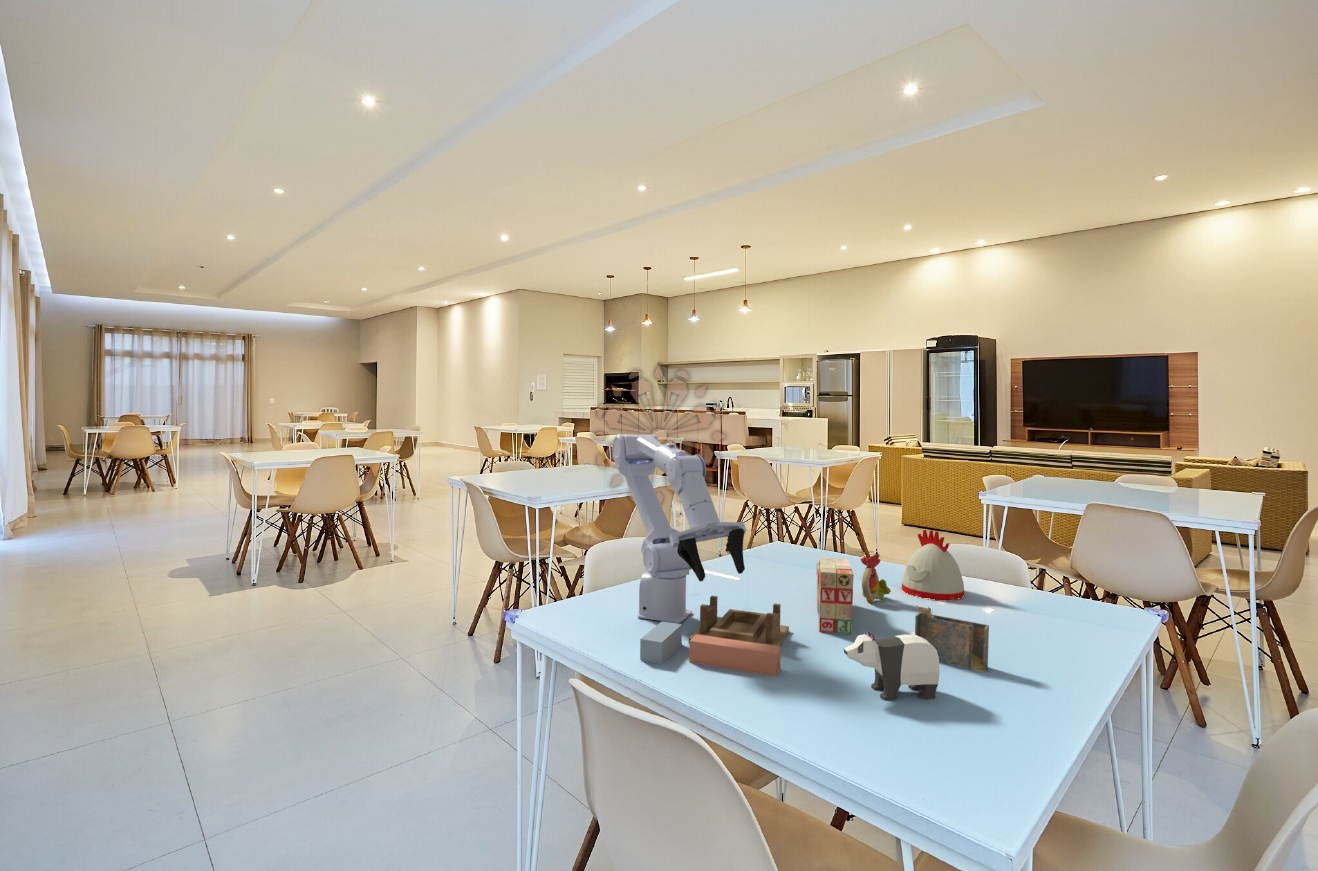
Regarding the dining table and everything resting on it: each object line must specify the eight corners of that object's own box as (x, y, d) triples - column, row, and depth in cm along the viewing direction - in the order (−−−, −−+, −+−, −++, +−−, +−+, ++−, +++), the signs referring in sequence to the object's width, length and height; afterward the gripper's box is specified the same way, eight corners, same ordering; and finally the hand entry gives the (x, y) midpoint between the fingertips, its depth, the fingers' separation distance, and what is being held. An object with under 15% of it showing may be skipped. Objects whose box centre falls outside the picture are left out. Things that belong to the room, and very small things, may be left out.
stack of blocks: (815, 601, 146) (817, 548, 145) (844, 603, 144) (845, 549, 144) (819, 632, 125) (820, 570, 124) (852, 635, 123) (853, 572, 123)
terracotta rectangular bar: (689, 663, 109) (689, 640, 109) (695, 656, 112) (695, 634, 112) (776, 677, 103) (776, 653, 103) (780, 669, 107) (780, 646, 107)
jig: (688, 643, 118) (689, 610, 118) (710, 620, 131) (711, 590, 131) (774, 656, 112) (774, 621, 112) (788, 631, 125) (789, 600, 125)
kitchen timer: (926, 582, 163) (927, 524, 163) (976, 595, 151) (978, 533, 151) (889, 589, 156) (891, 528, 156) (939, 604, 144) (940, 538, 144)
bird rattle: (884, 614, 143) (893, 589, 150) (879, 573, 139) (889, 550, 146) (856, 609, 146) (866, 585, 153) (851, 569, 142) (861, 547, 149)
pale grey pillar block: (640, 661, 109) (640, 638, 109) (661, 642, 119) (661, 621, 119) (661, 665, 108) (661, 642, 108) (681, 645, 117) (681, 624, 117)
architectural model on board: (913, 658, 113) (915, 604, 112) (918, 653, 115) (919, 600, 115) (984, 675, 106) (986, 617, 105) (987, 669, 108) (989, 613, 108)
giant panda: (927, 684, 101) (929, 625, 101) (945, 700, 95) (946, 637, 95) (837, 685, 100) (838, 625, 100) (849, 701, 95) (851, 638, 94)
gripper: (667, 504, 116) (689, 572, 108) (739, 493, 120) (765, 558, 113) (660, 523, 121) (680, 589, 114) (730, 511, 125) (753, 574, 118)
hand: (722, 575), depth 114 cm, fingers open, 7 cm apart
